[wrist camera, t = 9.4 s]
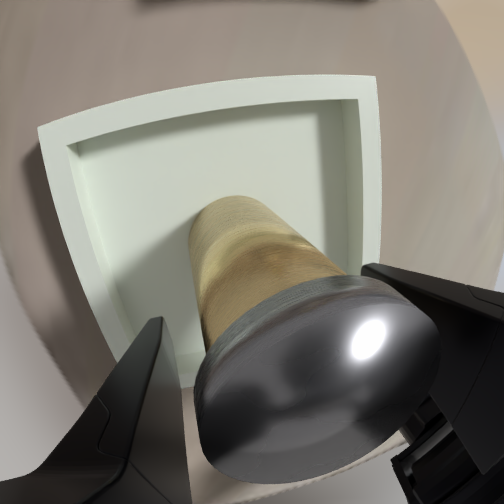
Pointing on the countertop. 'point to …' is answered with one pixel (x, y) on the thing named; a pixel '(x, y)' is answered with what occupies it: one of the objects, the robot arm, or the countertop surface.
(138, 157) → the tray
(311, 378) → the spice jar
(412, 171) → the countertop surface
